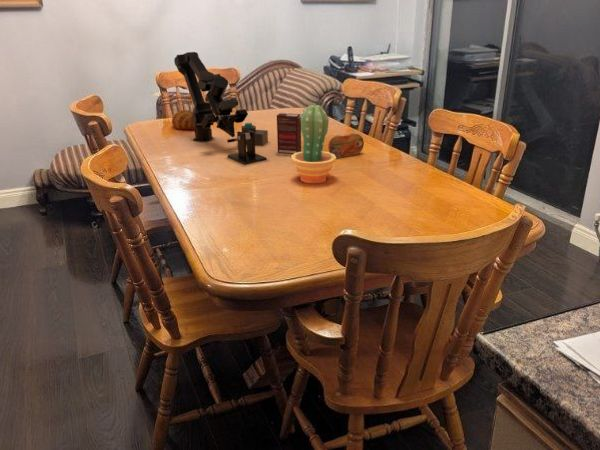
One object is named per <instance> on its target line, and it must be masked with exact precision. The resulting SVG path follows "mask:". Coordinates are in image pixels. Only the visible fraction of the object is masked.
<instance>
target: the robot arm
mask: <svg viewBox="0 0 600 450" xmlns="http://www.w3.org/2000/svg"><path fill="white" fill-rule="evenodd" d="M173 60H174V61H173V62H174V66H175V67H176V69H177V71H178V72H179V73H180V74H181V75H182V76H183V78H184V80H185V83H186V86H187V90H188V93H189V95H190V99H191V101H192V104H193V108H192V111H191V112H192V113H193V115H192V118H191V120H190V122H191V126H193V127H194V128H195V129H194V137H195V138H193V141H197V142H209V141H210V140H213V139H214V137H213V131H212V130H213V129H212V127H211V126H214V124H215V123H216V126H215V127H216V128H217V129H219V130H222V131H223V132H224V133H226V134H227V135H229V136H230V137H232V138H235V136H236V132H235V124H240V123H243V122H245V120H246V118H247V117H248V115H249V112H248V110H247V109H245V108H240V109H236V111H235V112H234V113H233V114H231V113H232V112H233V111H234V109H235V108H237V107H238V106H239V100H238V99H237V97H232V98H230V99H224V97H223V96H224V95H225V94H226V90H227V88H228V86H229V81H228V79H227V78H226V77H224V76H222V75H221V73H215V74H214V73H213V72H210V71H208V69H207V68H206V66H205V64H204V63H203V61H202V60H201V59H200V57H199V53H198V52H196V51H188V52H185V53H183V54H182V53H181V54H176V56H175V57H174V59H173ZM203 92H205V93H206V92H207V93H206V95H205V99H204V96H203Z"/></svg>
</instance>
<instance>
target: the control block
mask: <svg viewBox="0 0 600 450" xmlns="http://www.w3.org/2000/svg"><path fill="white" fill-rule="evenodd" d="M240 130H241V132H242V133H246V130H250V131H253V132H255V147H256V146H257V147H264V146H265V145H266V144H267V143H269V132H268V130H266V129H257V127H256V125H253V124H252V127H251V128H246V127H245V124H244V125H242V126H241V129H240ZM246 146H247V140H246Z"/></svg>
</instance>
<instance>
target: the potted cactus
mask: <svg viewBox="0 0 600 450" xmlns="http://www.w3.org/2000/svg"><path fill="white" fill-rule="evenodd" d="M300 114H301V115H300V116H299V117H301V136H302V138H303V142H302V143H303V144H302V145H303V146H302V150H301V152H297V153H295V154H293V155H291V156H290V158H291V162H292V164H293V165H294V166H295V169H296V172H297V173H298V175H299V176H300V181H301V182H303V183H306V184H321V183H325V182H326V181H327V176H328V175H329V173H330V172H331V170H332V168H333V165H334V164H335V163H336V161H337V157H336V156H335V155H334V154H332V153H330V152H329V151H326V150H325V151H323V149H324V145H325V139H326V136H327V134H328V131H329V123H330V121H329V120H330V118H329V115H328V114H327V113H326V111H325V110H324V108H323V106H322V105H320V104H316V105H315V104H311V105H308V106H307V107H306V108H304V109H303V110H302V111H301V113H300Z"/></svg>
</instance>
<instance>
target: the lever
mask: <svg viewBox="0 0 600 450" xmlns="http://www.w3.org/2000/svg"><path fill="white" fill-rule="evenodd" d="M245 134H246V140H248V139H251V137H250V132H249V133H245ZM226 141H227V143H234V142H238V139H237V137H234V138H230V139H226Z"/></svg>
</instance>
